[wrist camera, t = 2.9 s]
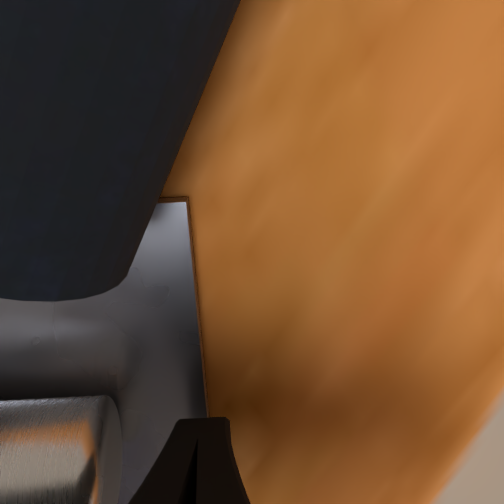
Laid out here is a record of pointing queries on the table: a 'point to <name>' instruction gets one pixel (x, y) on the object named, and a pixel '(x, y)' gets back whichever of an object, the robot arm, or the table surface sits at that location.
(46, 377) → the grey cradle rack
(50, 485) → the grey long cylinder
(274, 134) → the table surface
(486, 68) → the table surface
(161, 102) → the pipe connector
